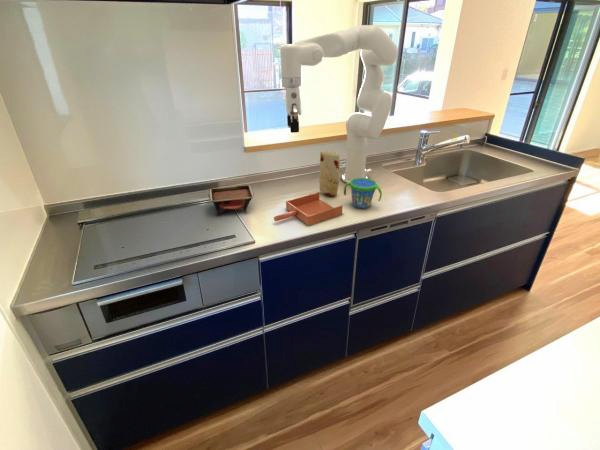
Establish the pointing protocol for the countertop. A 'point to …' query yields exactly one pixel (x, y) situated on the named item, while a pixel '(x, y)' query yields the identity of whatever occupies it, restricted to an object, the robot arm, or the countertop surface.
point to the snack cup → (362, 191)
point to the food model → (329, 173)
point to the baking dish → (231, 197)
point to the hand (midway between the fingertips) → (293, 128)
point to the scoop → (309, 209)
